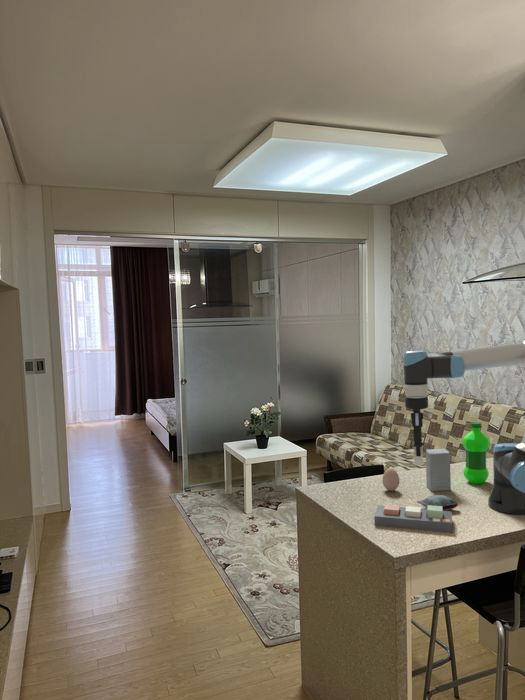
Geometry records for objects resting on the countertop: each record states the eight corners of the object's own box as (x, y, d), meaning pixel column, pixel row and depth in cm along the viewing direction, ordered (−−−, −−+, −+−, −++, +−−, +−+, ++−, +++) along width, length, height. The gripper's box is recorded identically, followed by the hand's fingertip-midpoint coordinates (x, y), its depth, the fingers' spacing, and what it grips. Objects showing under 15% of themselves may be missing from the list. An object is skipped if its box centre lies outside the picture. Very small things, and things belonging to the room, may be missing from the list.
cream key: (420, 518, 181) (420, 507, 180) (420, 524, 176) (420, 512, 176) (406, 517, 182) (406, 506, 182) (405, 522, 178) (405, 510, 177)
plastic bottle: (490, 480, 223) (490, 421, 222) (487, 487, 214) (487, 426, 213) (465, 477, 228) (465, 419, 227) (461, 483, 219) (460, 424, 218)
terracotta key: (399, 516, 183) (399, 505, 183) (398, 521, 178) (398, 510, 178) (385, 515, 184) (385, 504, 184) (384, 520, 180) (384, 508, 180)
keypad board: (451, 520, 180) (451, 510, 180) (452, 532, 170) (452, 522, 170) (378, 513, 188) (377, 504, 188) (374, 524, 178) (374, 515, 178)
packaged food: (416, 508, 193) (416, 494, 193) (442, 503, 198) (442, 490, 197) (432, 516, 185) (433, 502, 185) (459, 511, 190) (459, 497, 189)
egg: (398, 488, 216) (397, 466, 215) (400, 493, 209) (400, 470, 208) (381, 488, 216) (381, 466, 216) (383, 493, 210) (383, 470, 209)
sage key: (442, 517, 178) (442, 506, 178) (442, 523, 174) (442, 511, 174) (427, 516, 180) (427, 505, 180) (427, 521, 175) (427, 509, 175)
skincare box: (445, 486, 217) (445, 447, 216) (451, 491, 210) (451, 452, 209) (425, 486, 217) (424, 448, 216) (430, 492, 210) (429, 452, 209)
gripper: (405, 393, 187) (407, 459, 188) (404, 399, 175) (406, 469, 176) (427, 393, 185) (430, 460, 186) (428, 399, 173) (430, 470, 174)
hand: (418, 464), depth 181 cm, fingers closed
